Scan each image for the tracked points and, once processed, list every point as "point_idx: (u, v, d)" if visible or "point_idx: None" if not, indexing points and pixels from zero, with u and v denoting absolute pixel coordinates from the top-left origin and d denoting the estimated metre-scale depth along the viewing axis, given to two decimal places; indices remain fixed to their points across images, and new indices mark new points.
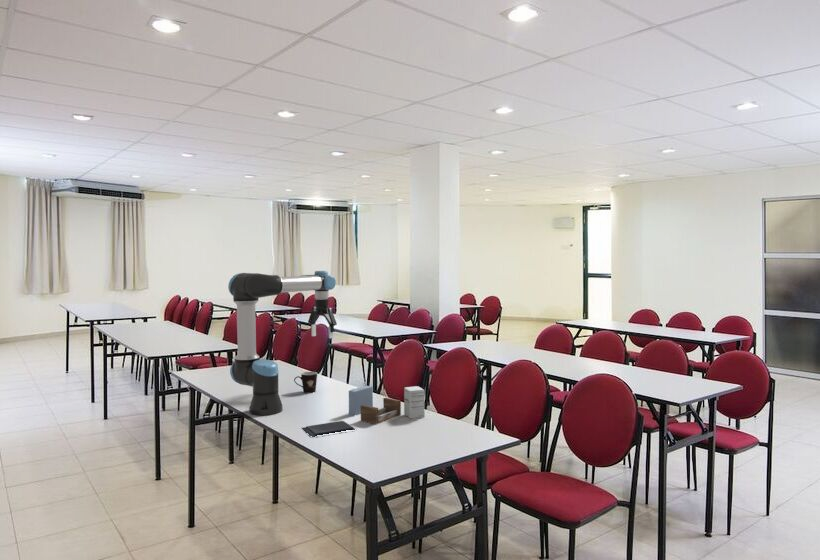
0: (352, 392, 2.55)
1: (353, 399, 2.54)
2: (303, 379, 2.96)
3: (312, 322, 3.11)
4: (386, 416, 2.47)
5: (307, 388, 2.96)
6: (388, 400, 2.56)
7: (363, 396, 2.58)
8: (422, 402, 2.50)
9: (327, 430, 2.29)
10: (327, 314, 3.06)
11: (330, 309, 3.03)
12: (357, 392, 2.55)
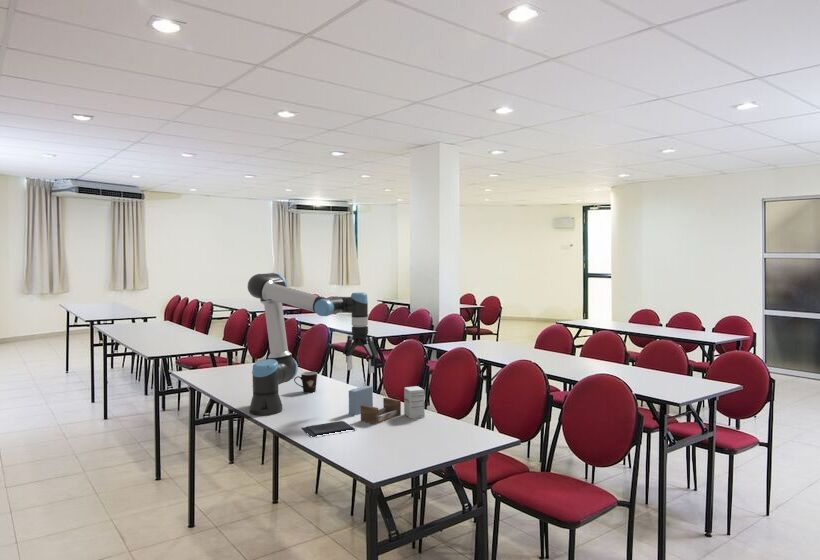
0: (352, 392, 2.55)
1: (353, 399, 2.54)
2: (303, 379, 2.96)
3: (348, 353, 2.62)
4: (386, 416, 2.47)
5: (307, 388, 2.96)
6: (388, 400, 2.56)
7: (363, 396, 2.58)
8: (422, 402, 2.50)
9: (327, 430, 2.28)
10: (366, 344, 2.57)
11: (370, 339, 2.55)
12: (357, 392, 2.55)
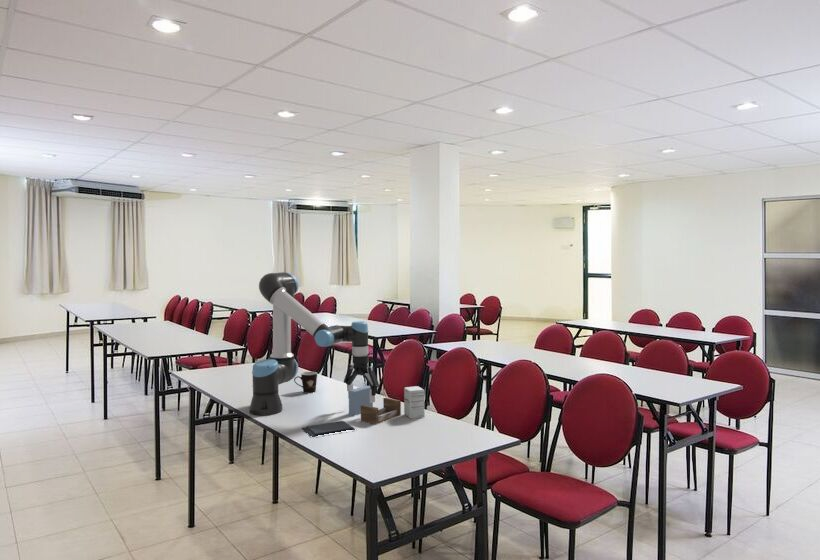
0: (352, 392, 2.55)
1: (353, 399, 2.54)
2: (303, 379, 2.96)
3: (349, 382, 2.62)
4: (386, 416, 2.47)
5: (307, 388, 2.96)
6: (388, 400, 2.56)
7: (363, 396, 2.58)
8: (422, 402, 2.50)
9: (327, 430, 2.28)
10: (367, 373, 2.57)
11: (371, 368, 2.55)
12: (357, 392, 2.55)
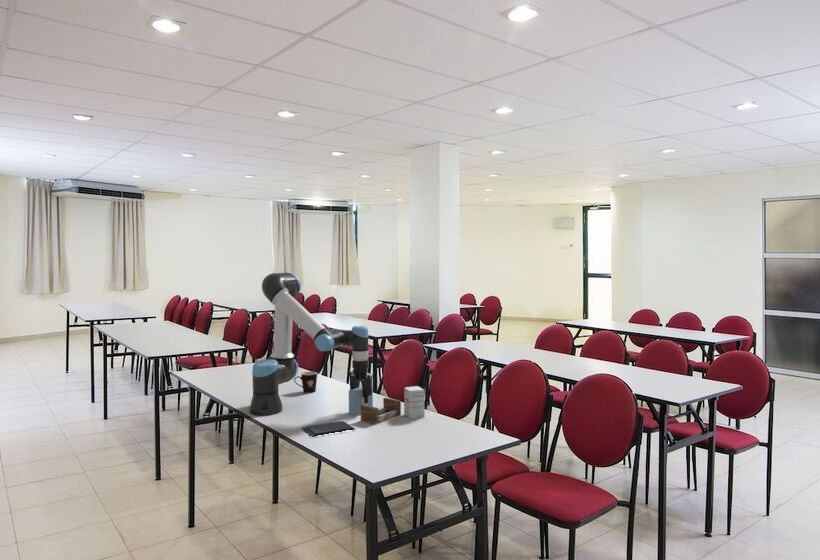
0: (352, 392, 2.55)
1: (353, 399, 2.54)
2: (303, 379, 2.96)
3: None
4: (386, 416, 2.47)
5: (307, 388, 2.96)
6: (388, 400, 2.56)
7: None
8: (422, 402, 2.50)
9: (327, 430, 2.28)
10: (365, 380, 2.58)
11: (370, 377, 2.55)
12: (357, 392, 2.55)
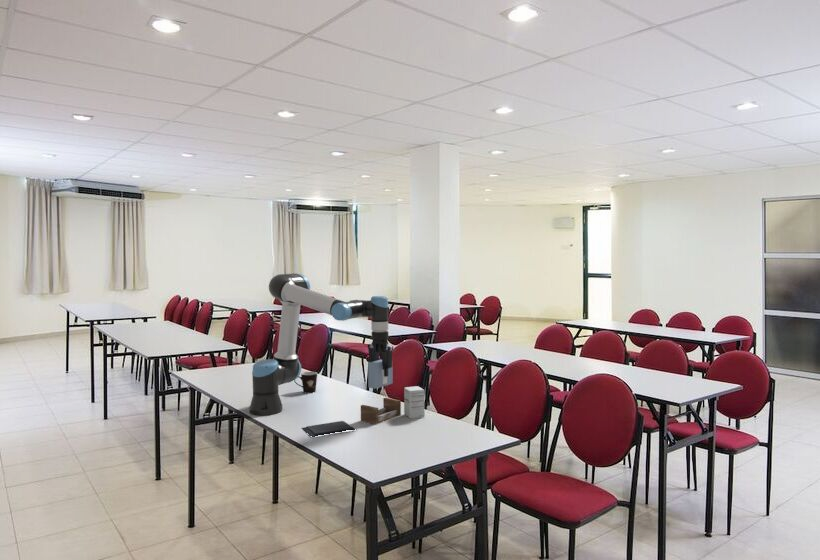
0: (372, 364, 2.44)
1: (373, 371, 2.44)
2: (303, 379, 2.96)
3: None
4: (386, 416, 2.47)
5: (307, 388, 2.96)
6: (388, 400, 2.56)
7: None
8: (422, 402, 2.50)
9: (327, 430, 2.28)
10: (385, 352, 2.48)
11: (391, 348, 2.45)
12: (377, 364, 2.44)
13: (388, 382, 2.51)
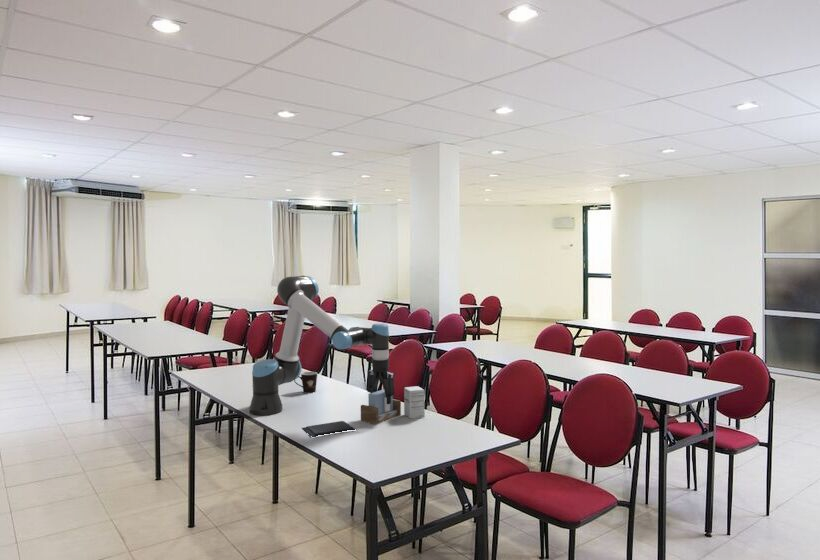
0: (372, 395, 2.44)
1: (373, 403, 2.44)
2: (303, 379, 2.96)
3: (373, 390, 2.51)
4: (386, 416, 2.47)
5: (307, 388, 2.96)
6: None
7: (383, 400, 2.48)
8: (422, 402, 2.50)
9: (327, 430, 2.28)
10: (386, 379, 2.48)
11: (391, 375, 2.45)
12: (377, 395, 2.45)
13: None
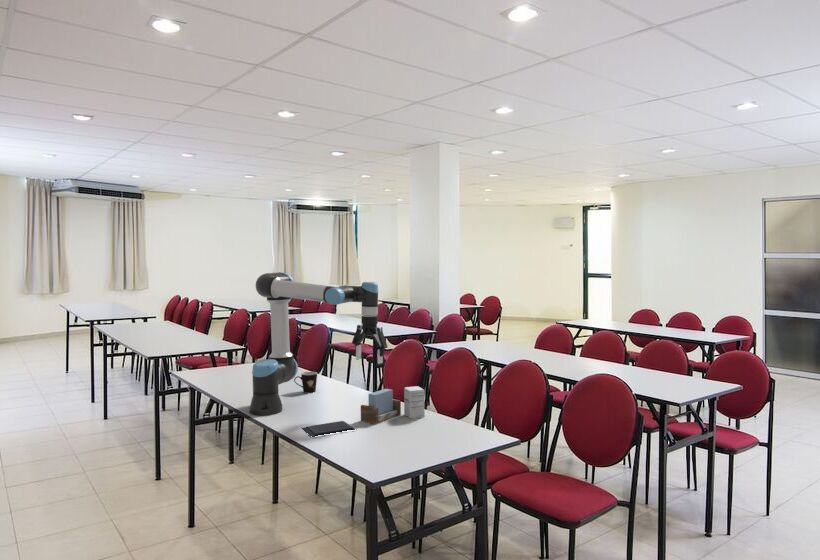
0: (372, 395, 2.44)
1: (373, 403, 2.44)
2: (303, 379, 2.96)
3: (357, 343, 2.61)
4: (386, 416, 2.47)
5: (307, 388, 2.96)
6: None
7: (383, 400, 2.48)
8: (422, 402, 2.50)
9: (327, 430, 2.28)
10: (376, 334, 2.55)
11: (380, 329, 2.53)
12: (377, 395, 2.45)
13: None
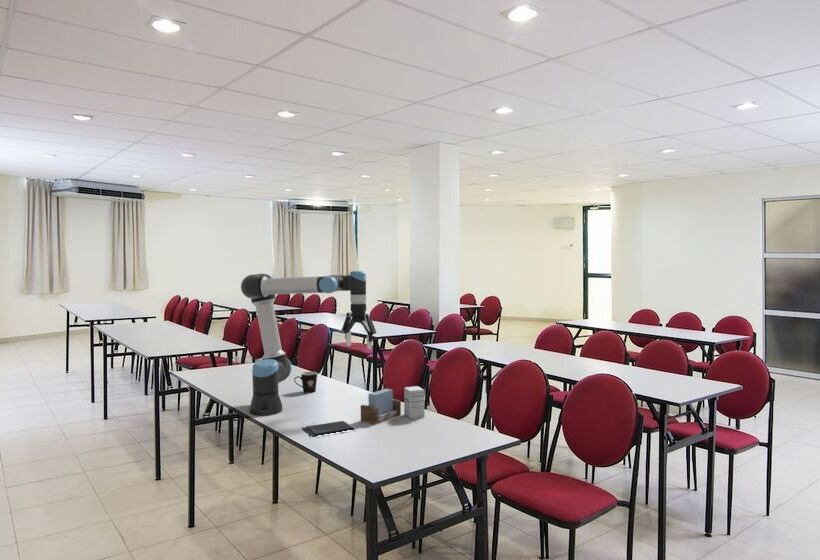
0: (372, 395, 2.44)
1: (373, 403, 2.44)
2: (303, 379, 2.96)
3: (347, 330, 2.71)
4: (386, 416, 2.47)
5: (307, 388, 2.96)
6: None
7: (383, 400, 2.48)
8: (422, 402, 2.50)
9: (327, 430, 2.28)
10: (365, 321, 2.66)
11: (368, 315, 2.63)
12: (377, 395, 2.45)
13: None
